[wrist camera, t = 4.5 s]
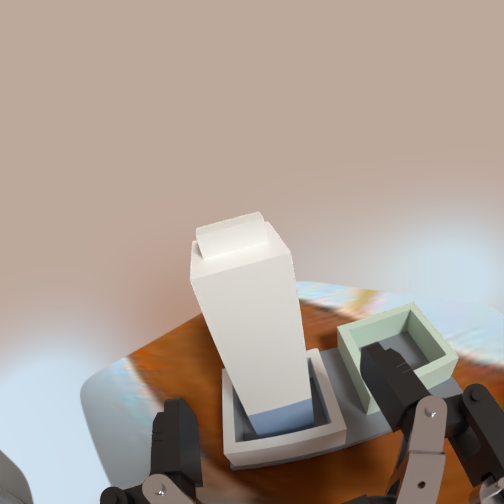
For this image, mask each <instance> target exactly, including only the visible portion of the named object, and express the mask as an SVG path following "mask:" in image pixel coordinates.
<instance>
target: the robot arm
mask: <svg viewBox="0 0 504 504" xmlns="http://www.w3.org/2000/svg"><path fill="white" fill-rule="evenodd" d="M360 374H361V377H362V379H363V381H364V383H365V384H366V386H367V388H368V389H369V391H370V393H371V395H372V396H373V398H374V400H375V401H376V403H377V405H378V407H379V408H380V410H381V412H382V414H383V415H384V417H385V419H386V420H387V422H388V424H389V426H390V427H391V429H392V431H393V433H394V432H396V431H398V430H400V429H401V431H402V433H403V437H402V441H401V445H400V449H399V453H398V457H397V461H396V465H395V468H394V471H393V474H392V476H391V478H390V481H389V483H388V486H387V489H386V492H385V495H384V496H370V497H367V495H366V494H365V495H362V496H360V497H358V498H355V499H352V500H350V501H347V502H345V503H342V504H436V500H437V497H438V493H439V488H440V484H441V480H442V475H443V470H444V464H445V453H443V444H444V438H448V440H449V442H450V443H451V445H452V447H453V449H454V451H455V453H456V454H457V456H458V458H459V460H460V462H461V464H462V466H463V468H464V470H465V472H466V474H467V476H468V478H469V480H470V482H471V484H472V486H473V490H472V491H471V493H470V496H469V504H504V412H503V411H502V410H501V408H500V407H499V405H498V404H497V402H496V401H495V399H494V398H493V397H492V395H491V394H490V393H489V391H488V390H487V389H486V387H484V386H483V385H481V384H471V385H469V386H468V387H467V388H466V389H465V390H464V392H463V393H462V394H458V395H455V396H451V397H448V398H441V397H438V396H434V395H432V394H431V393H430V392H429V391H428V390H427V388H426V387H425V386H424V384H423V383H422V382H421V380H420V379H419V378H418V376H417V375H416V374H415V372H414V371H413V370H412V369H411V367H410V366H409V364H408V363H406V361H405V359H404V358H403V357H402V355H401V354H400V353H398V352H397V351H395V350H393V349H392V348H389V349H387V350H384V348H383V347H382V346H381V344H380V343H379V342H374V343H372V344H369V345H367V346H364V347H362V348H361V357H360ZM152 433H153V434H152V447H151V471H150V475H149V477H148V478H146V479H145V481H144V482H143V484H141V485H139V486H136V487H132V488H129V489H125V490H122V489H120V488H117V487H109V488H107V489H105V490H104V491H103V492H102V494H101V497H100V504H205V503H204V502H203V501H202V500H201V499H200V498H198V497H197V496H196V490H195V487H203V482H202V471H201V459H200V446H199V431H198V422H197V419H196V416H195V414H194V413H193V411H192V410H191V409H190V407H189V406H188V404H187V403H186V402H185V400H184V399H183V398H182V397H181V398H175V399H168V400H165V403H164V412H158V413H157V415H156V417H155V419H154V421H153V429H152ZM0 504H24V503H23V502H22V501H21V500H19V499H17V498H16V497H14V496H12V495H11V494H9V493H8V492H6V491H4V490H3V489H1V488H0Z"/></svg>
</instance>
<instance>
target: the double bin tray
mask: <svg viewBox="0 0 504 504" xmlns="http://www.w3.org/2000/svg"><path fill="white" fill-rule="evenodd" d="M374 342H379V343H380V344H381V346H382V347H383V348H384V350H387V349H389V348H392V349H393V350H395V351H397V352H398V353H400V354H401V355H402V357H403V358H404V359H405V361H406V363H408V364H409V366H410V367H411V369H412V370H413V371H414V372H415V374H416V375H417V376H418V378H419V379H420V380H421V382H422V383H423V384H424V386H425V387H426V388H427V390H428V391H429V392H430V393H431V394H432V395H434V396H438V397H441V398H448V397H451V396H455V395H458V394H462V393H463V391H462V390H461V388H460V387H459V385H458V384H457V382H456V381H455V379H454V378H453V376H452V375H451V374H452V372H453V370H454V368H455V365H456V363H457V361H458V358H459V357H458V356H457V354H456V353H455V352H454V350H453V349H452V348H451V347H450V345H449V344H448V343H447V342H446V340H445V339H444V338H443V337H442V335H441V334H440V333H439V332H438V331H437V329H436V328H435V327H434V326H433V325H432V323H431V322H430V321H429V320H428V319H427V317H426V316H425V315H424V314H423V313H422V312H421V310H420V309H419V308H418V307H417V306H416V305H415V304H414V302H412V303H409V304H406V305H403V306H401V307H398V308H395V309H392V310H389V311H386V312H383V313H380V314H377V315H374V316H371V317H368V318H365V319H362V320H358V321H355V322H352V323H348V324H345V325H342V326H338V327H337V344H338V347H335V348H332V349H328V350H325V351H321V352H319V350H318V348H315V349H312V350H308V351H306V356H307V364H308V372H309V380H310V389H311V397H312V406H313V416H314V426H315V428H311V429H307V430H303V431H299V432H294V433H290V434H285V435H280V436H275V437H269V438H264V439H259V437H258V435H257V434H256V432H255V430H254V428H253V426H252V424H251V422H250V419H249V417H248V415H247V413H246V411H245V409H244V407H243V405H242V403H241V401H240V399H239V397H238V394H237V392H236V390H235V388H234V386H233V384H232V381H231V379H230V377H229V375H228V372H227V370H226V368H224V369H222V404H223V444H224V455H225V456H226V457H227V458H228V459H229V460H230V468H231V469H232V470H233V471H235V470H245V469H253V468H260V467H267V466H273V465H279V464H284V463H289V462H294V461H299V460H303V459H308V458H312V457H316V456H320V455H323V454H327V453H331V452H334V451H338V450H341V449H344V448H347V447H351V446H354V445H357V444H360V443H363V442H365V441H368V440H371V439H374V438H376V437H379V436H381V435H384V434H386V433H389V432H391V431H392V429H391V427H390V426H389V424H388V422H387V420H386V419H385V417H384V415H383V414H382V412H381V410H380V408H379V407H378V405H377V403H376V401H375V400H374V398H373V396H372V395H371V393H370V391H369V389H368V388H367V386H366V384H365V383H364V381H363V379H362V377H361V374H360V357H361V348H362V347H364V346H367V345H369V344H372V343H374Z"/></svg>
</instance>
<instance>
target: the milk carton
mask: <svg viewBox="0 0 504 504" xmlns="http://www.w3.org/2000/svg"><path fill="white" fill-rule="evenodd" d="M196 238H197V240H196V241H193V242H192V254H191V269H190V281H191V284H192V287H193V290H194V292H195V295H196V298H197V300H198V303H199V305H200V308H201V310H202V313H203V316H204V318H205V321H206V323H207V325H208V328H209V330H210V333H211V335H212V338H213V340H214V342H215V345H216V347H217V350H218V352H219V354H220V357H221V359H222V361H223V363H224V366H225V368H226V370H227V372H228V375H229V377H230V379H231V381H232V384H233V386H234V388H235V390H236V392H237V394H238V397H239V399H240V401H241V403H242V405H243V407H244V409H245V411H246V413H247V415H248V417H249V419H250V422H251V424H252V426H253V428H254V430H255V432H256V434H257V435H258V437H259V439H264V438H269V437H275V436H280V435H285V434H290V433H294V432H299V431H303V430H307V429H311V428H315V426H314V416H313V406H312V397H311V389H310V380H309V372H308V364H307V356H306V349H305V341H304V334H303V327H302V320H301V313H300V306H299V299H298V293H297V287H296V280H295V274H294V269H293V262H292V256H291V252H290V250H289V249H288V248H287V246H286V245H285V244H284V242H283V241H282V239H281V238H280V237H279V235H278V234H277V233H276V231H275V230H274V228H273V227H272V226H271V224H270V223H269V222H268V221H267V222H264V218H263V216H262V215H261V214H260V212H254V213H250V214H247V215H243V216H239V217H236V218H231V219H228V220H224V221H220V222H217V223H213V224H209V225H206V226H202V227H198V228H196Z"/></svg>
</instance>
